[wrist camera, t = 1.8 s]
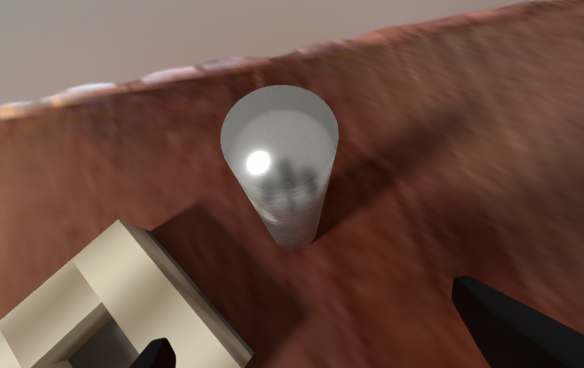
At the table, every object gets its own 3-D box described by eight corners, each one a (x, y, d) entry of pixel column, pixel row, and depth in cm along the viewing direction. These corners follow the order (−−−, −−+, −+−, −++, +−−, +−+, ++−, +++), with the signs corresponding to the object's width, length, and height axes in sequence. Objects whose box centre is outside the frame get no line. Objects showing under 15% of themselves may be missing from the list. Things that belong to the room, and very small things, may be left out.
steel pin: (326, 225, 22) (363, 129, 8) (294, 260, 21) (279, 214, 8) (292, 195, 23) (278, 67, 9) (261, 227, 22) (196, 136, 9)
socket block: (254, 353, 19) (242, 369, 15) (103, 525, 16) (42, 598, 12) (149, 231, 22) (118, 219, 18) (8, 357, 19) (-63, 374, 15)
